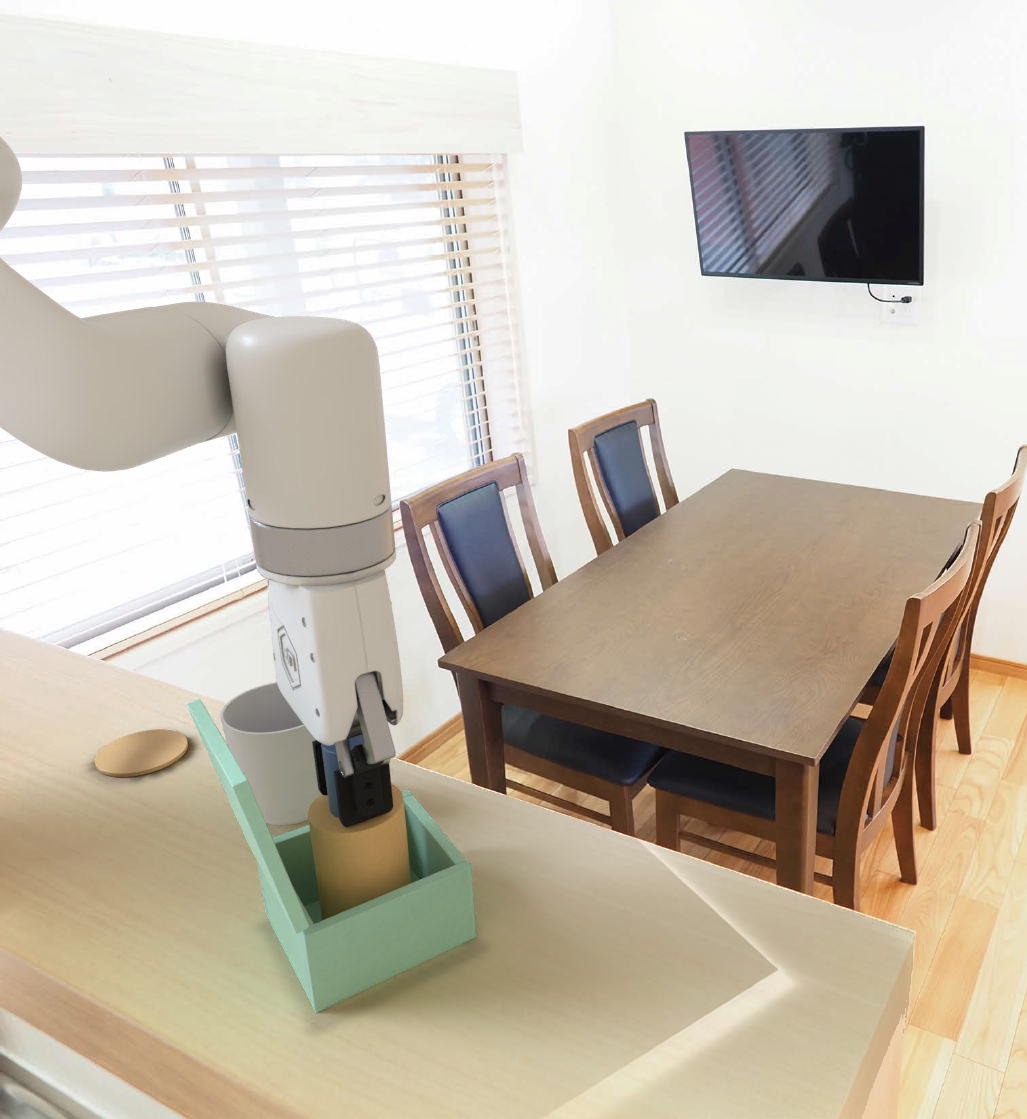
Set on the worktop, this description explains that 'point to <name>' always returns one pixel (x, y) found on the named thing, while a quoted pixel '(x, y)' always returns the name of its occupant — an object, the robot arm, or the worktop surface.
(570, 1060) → the worktop surface
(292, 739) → the cup
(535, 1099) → the worktop surface
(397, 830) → the tan cardboard cylinder
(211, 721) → the lid
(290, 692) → the robot arm
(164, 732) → the coaster
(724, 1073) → the worktop surface
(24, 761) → the worktop surface
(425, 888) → the mint green lidded box
